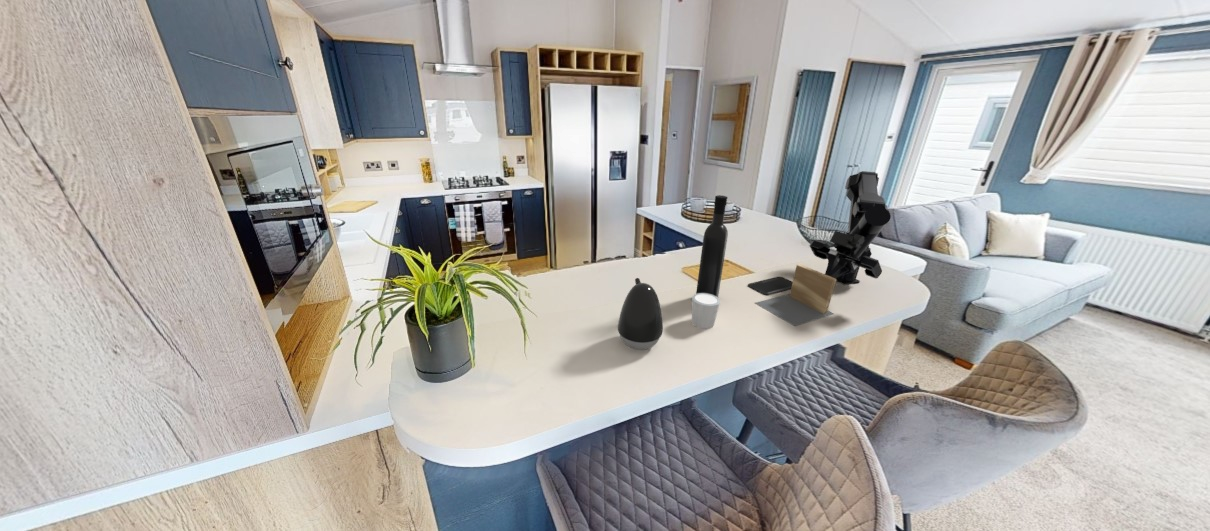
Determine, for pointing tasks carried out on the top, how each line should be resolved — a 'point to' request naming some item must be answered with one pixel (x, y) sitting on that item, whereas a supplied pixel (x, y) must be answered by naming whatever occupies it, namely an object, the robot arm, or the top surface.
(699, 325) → the white short tapered cylinder
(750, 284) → the phone
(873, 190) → the robot arm
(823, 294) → the oak block
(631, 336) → the black egg shape
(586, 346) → the top surface
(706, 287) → the wine bottle
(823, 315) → the charcoal mat
